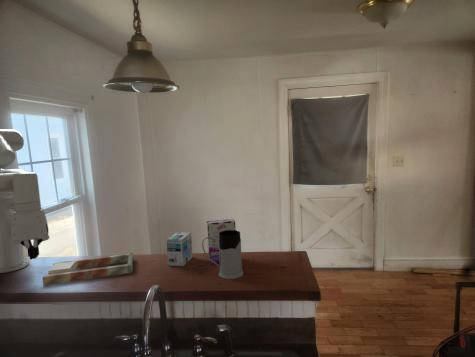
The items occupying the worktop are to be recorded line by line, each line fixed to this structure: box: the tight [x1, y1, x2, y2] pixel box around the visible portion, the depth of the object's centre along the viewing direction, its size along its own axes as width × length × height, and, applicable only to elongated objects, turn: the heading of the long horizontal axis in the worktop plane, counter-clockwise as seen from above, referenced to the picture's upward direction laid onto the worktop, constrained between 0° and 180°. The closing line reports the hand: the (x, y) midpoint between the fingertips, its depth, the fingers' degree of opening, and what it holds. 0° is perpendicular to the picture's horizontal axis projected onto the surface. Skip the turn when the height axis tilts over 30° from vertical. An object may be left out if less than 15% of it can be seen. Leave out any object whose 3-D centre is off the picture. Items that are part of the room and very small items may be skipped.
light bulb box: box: [166, 231, 193, 267], centre depth 122 cm, size 11×7×11 cm, turn 168°
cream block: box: [47, 261, 77, 275], centre depth 112 cm, size 7×7×4 cm
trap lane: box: [42, 252, 134, 286], centre depth 115 cm, size 29×14×3 cm, turn 107°
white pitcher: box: [201, 230, 244, 280], centre depth 108 cm, size 9×14×15 cm, turn 91°
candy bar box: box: [206, 218, 237, 265], centre depth 121 cm, size 11×5×16 cm, turn 102°
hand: (34, 257), depth 108 cm, fingers closed
